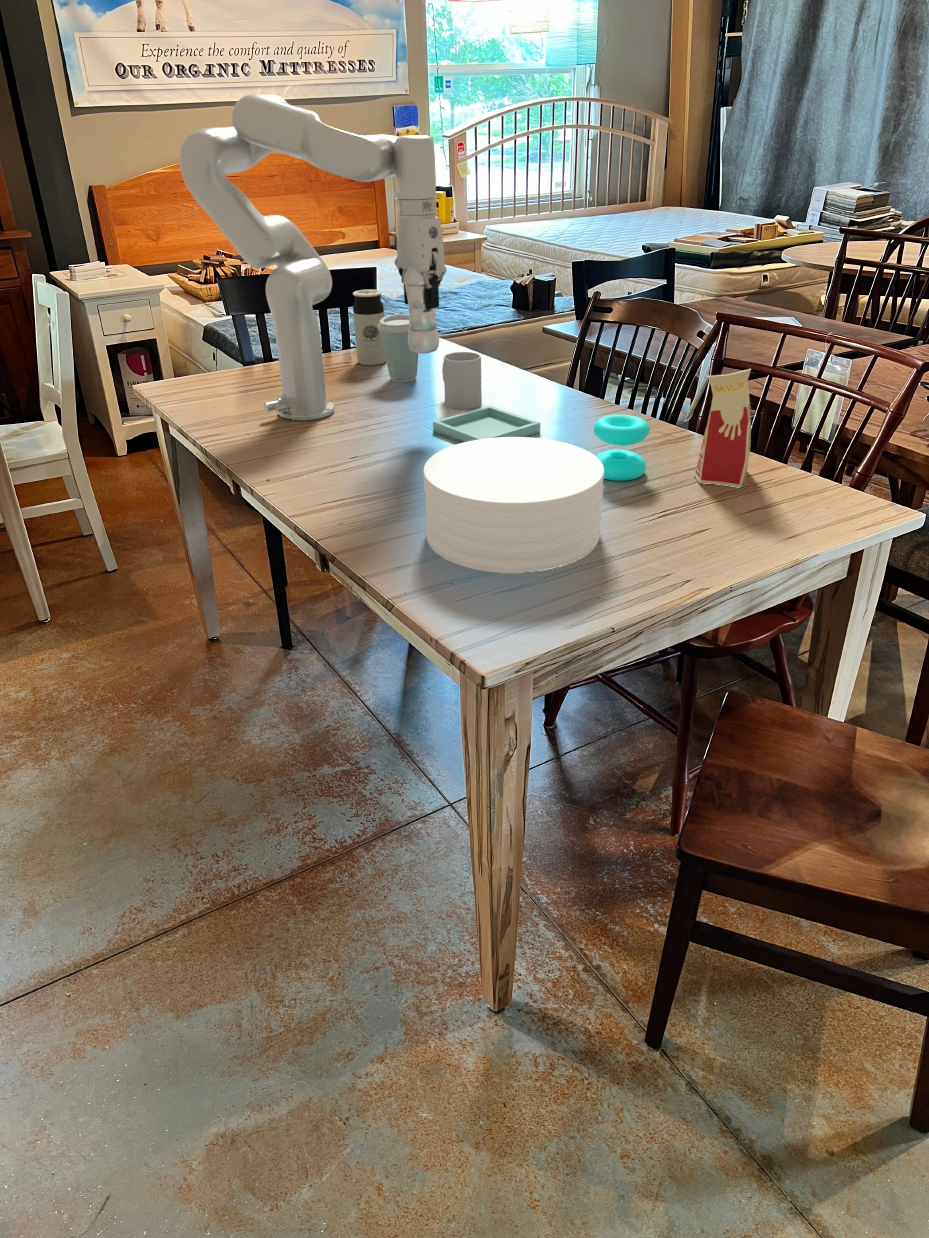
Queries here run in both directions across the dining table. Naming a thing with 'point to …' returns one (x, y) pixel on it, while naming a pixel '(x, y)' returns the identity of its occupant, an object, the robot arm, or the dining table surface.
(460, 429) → the tray
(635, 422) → the donuts
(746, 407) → the milk carton
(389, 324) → the disposable coffee cup
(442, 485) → the plate stack
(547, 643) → the dining table surface
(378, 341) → the travel mug
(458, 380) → the mug
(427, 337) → the plastic bottle
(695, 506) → the dining table surface
